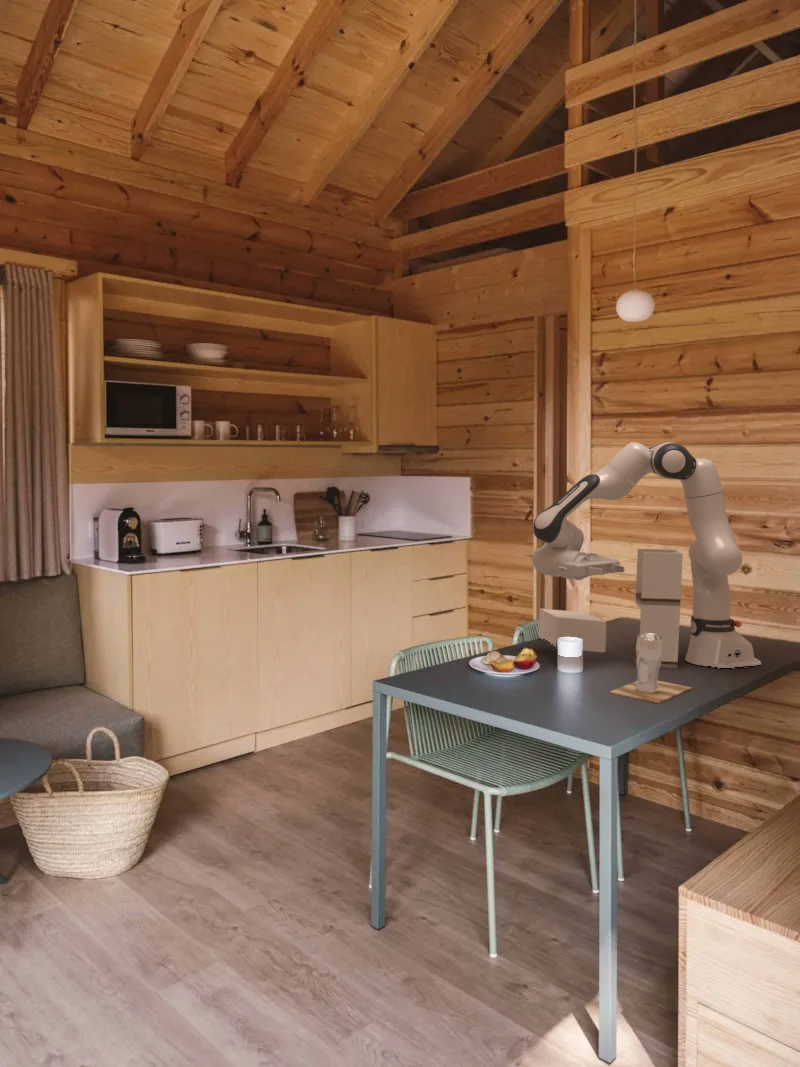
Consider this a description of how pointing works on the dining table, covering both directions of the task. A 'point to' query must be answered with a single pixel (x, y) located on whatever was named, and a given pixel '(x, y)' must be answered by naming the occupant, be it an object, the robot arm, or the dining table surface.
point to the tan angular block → (573, 628)
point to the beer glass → (648, 661)
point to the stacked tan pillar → (660, 598)
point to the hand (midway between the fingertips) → (613, 570)
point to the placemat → (663, 693)
